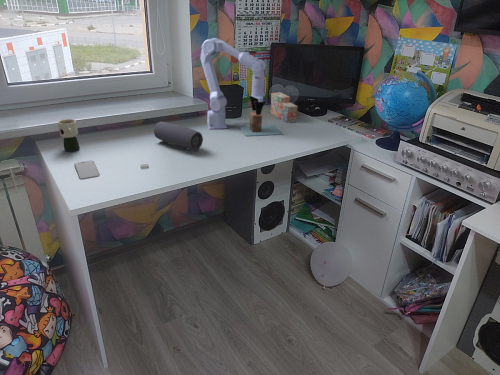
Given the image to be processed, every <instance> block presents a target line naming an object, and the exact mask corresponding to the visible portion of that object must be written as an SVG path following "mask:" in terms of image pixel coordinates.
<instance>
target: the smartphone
mask: <svg viewBox="0 0 500 375" xmlns="http://www.w3.org/2000/svg"><path fill="white" fill-rule="evenodd" d="M74 168H75V170H76V173H77V175H78V179H79V180H87V179H91V178H97V177H100V175H101V174H100V173H99V170H98V168H97V166H96V163H95V162H94V161H93V160H87V161H79V162H75V163H74Z"/></svg>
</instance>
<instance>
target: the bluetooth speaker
mask: <svg viewBox="0 0 500 375" xmlns="http://www.w3.org/2000/svg"><path fill="white" fill-rule="evenodd" d="M153 134H154V137H155V138H156V139H158V140H159V141H162V142H165V143H167V144H169V146H172V147H175V148H177V149H180V150H192V151H197V150H199V149H200V148H201V147H202V145H203V142H204V138H203V134H202V133H201V132H200V131H198V130H195V129H192V128H189V127H187V126H183V125H179V124H176V123H172V122H166V121H159V122H157V123H156V124H155V126H154V130H153Z"/></svg>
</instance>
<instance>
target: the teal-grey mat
mask: <svg viewBox="0 0 500 375" xmlns="http://www.w3.org/2000/svg"><path fill="white" fill-rule="evenodd" d="M239 129H240V130H241V131H242V133H243V134H244V136H245V137H259V136H260V137H261V136H262V137H263V136H264V137H265V136H283V135H284V133H283V132H282V131H281V130H280V128H279V127H278V126H277V125H276V124H275V125H262V128H261V132H251V130H250V125H249V126H239Z"/></svg>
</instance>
